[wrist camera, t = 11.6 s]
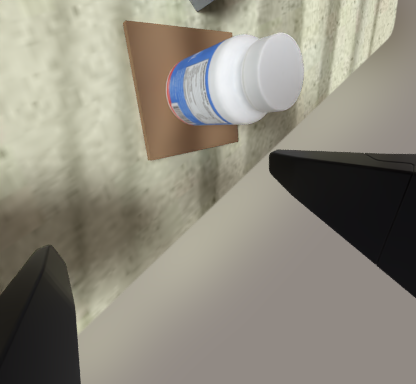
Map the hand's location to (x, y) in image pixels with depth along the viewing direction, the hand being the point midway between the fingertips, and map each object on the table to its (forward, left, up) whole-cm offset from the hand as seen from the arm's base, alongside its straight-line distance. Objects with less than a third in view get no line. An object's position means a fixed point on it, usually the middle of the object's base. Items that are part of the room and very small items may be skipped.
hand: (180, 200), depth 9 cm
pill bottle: (+8, +5, -11) cm, 15 cm away
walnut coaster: (+9, +5, -12) cm, 15 cm away
